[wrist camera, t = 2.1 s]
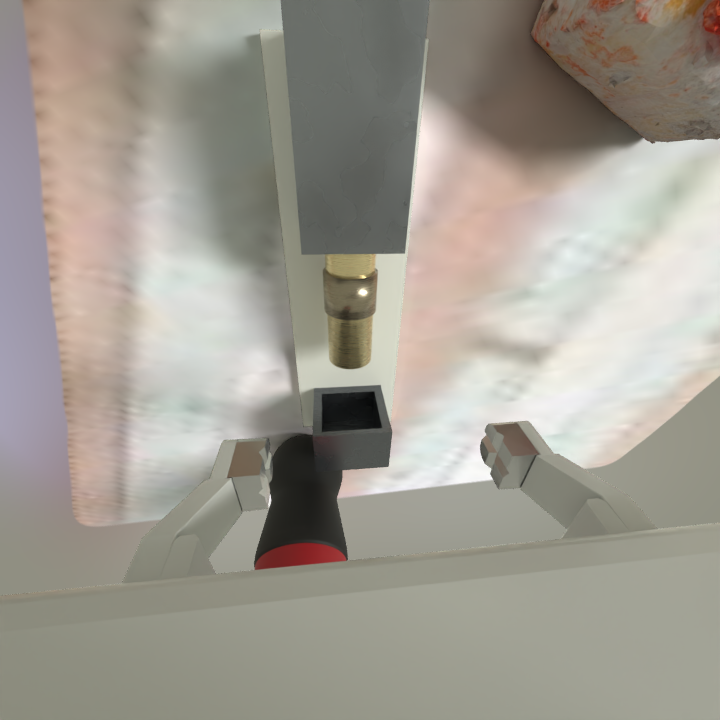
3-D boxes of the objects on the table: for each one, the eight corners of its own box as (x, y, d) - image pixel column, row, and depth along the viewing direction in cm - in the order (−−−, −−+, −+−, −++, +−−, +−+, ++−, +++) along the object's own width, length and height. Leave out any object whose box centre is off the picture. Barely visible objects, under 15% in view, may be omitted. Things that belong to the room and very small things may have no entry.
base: (261, 33, 19) (259, 29, 18) (425, 42, 20) (428, 38, 19) (303, 421, 37) (303, 426, 36) (389, 416, 38) (390, 421, 37)
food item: (503, 45, 21) (621, -18, 13) (600, -141, 17) (858, -402, 9) (635, 154, 25) (787, 160, 17) (736, 25, 21) (993, -48, 13)
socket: (313, 388, 33) (312, 436, 28) (380, 384, 34) (392, 431, 29) (316, 421, 36) (315, 472, 31) (378, 418, 37) (388, 466, 31)
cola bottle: (261, 465, 40) (169, 974, 16) (286, 419, 37) (216, 999, 12) (323, 479, 43) (327, 929, 19) (352, 439, 39) (407, 938, 15)
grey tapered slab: (291, 30, 19) (279, -14, 13) (399, 36, 19) (429, -3, 14) (305, 230, 25) (301, 254, 20) (387, 230, 25) (405, 253, 20)
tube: (312, 49, 18) (310, 28, 15) (382, 52, 18) (396, 33, 15) (326, 345, 29) (327, 371, 26) (370, 344, 29) (376, 369, 26)
